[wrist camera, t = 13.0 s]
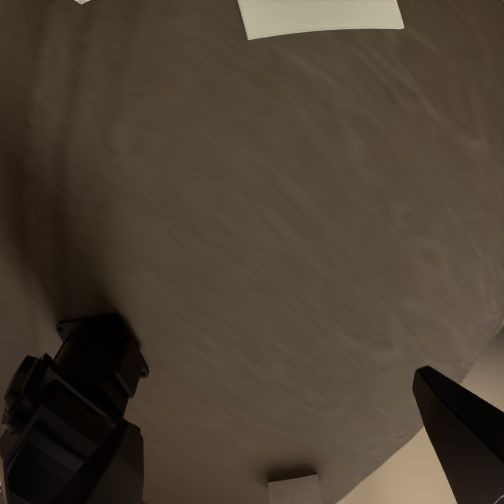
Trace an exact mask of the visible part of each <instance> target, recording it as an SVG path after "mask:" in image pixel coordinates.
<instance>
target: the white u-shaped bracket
mask: <svg viewBox="0 0 504 504" xmlns="http://www.w3.org/2000/svg"><path fill="white" fill-rule="evenodd" d="M75 1H76V2H78V3H80V4H83V3H86V2H88V1H90V0H75Z"/></svg>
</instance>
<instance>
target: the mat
mask: <svg viewBox="0 0 504 504" xmlns="http://www.w3.org/2000/svg"><path fill="white" fill-rule="evenodd" d="M237 1H238V5H239V9H240V12H241V16H242V20H243V24H244V27H245V31H246V35H247V39H248V40H252V39H257V38H263V37H270V36H276V35H284V34H291V33H300V32H310V31H322V30H337V29H403V28H404V24H403V21H402V18H401V14H400V11H399V8H398V4H397V1H396V0H237Z"/></svg>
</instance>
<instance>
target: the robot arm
mask: <svg viewBox="0 0 504 504" xmlns="http://www.w3.org/2000/svg"><path fill="white" fill-rule="evenodd" d="M113 319H115V320H116V321H114V320H113ZM56 330H57V332H58V334H59V335H60V337H61V339H62V340H63V344H62V346H61V347H60V349H59V350H58V352H57V354H56V355H55V357H54V359H53V360H52V358H51V357H50V356H49V355H48V354H47V353H45V354H44V355H43V356H42V357H41V358H37V357H36V358H35V357H32V356H29V355H27V356H26V357H25V358H24V360H23V361H22V363H21V364H20V366H19V367H18V369H17V370H16V372H15V373H14V375H13V377H12V379H11V381H10V384H9V386H8V389H7V391H6V394H5V396H4V399H5V404H6V405H5V410H4V414H3V418H2V425H3V426H4V427H6V430H5V431H4V433H3V435H2V437H1V438H0V479H1V487H2V489H1V492H0V504H142V495H143V483H144V454H143V437H142V435H141V434H140V428H139V427H137V426H136V425H135V424H132V423H130V422H128V421H127V420H125V419H124V418H123V416H124V413H125V410H126V406H127V403H128V400H129V398H133V396H134V394H135V391H136V387H137V384H138V381H139V378H146V377H148V374H149V369H148V368H147V366H146V364H145V362H144V358H143V357H142V355H141V353H140V351H139V349H138V347H137V346H136V344H135V342H134V340H133V338H132V337H131V336H130V334H129V332H128V331H127V329H126V327H125V325H124V323H123V321H122V319H121V317H120V315H118V314H116V313H110V314H104V315H98V316H92V317H87V318H81V319H75V320H68V321H62V322H58V324H57V325H56ZM412 389H413V393H414V396H415V399H416V402H417V405H418V408H419V411H420V414H421V417H422V420H423V423H424V426H425V429H426V432H427V434H428V436H429V439H430V441H431V443H432V445H433V447H434V450H435V452H436V454H437V456H438V458H439V461H440V463H441V465H442V468H443V470H444V472H445V475H446V477H447V479H448V482H449V484H450V487H451V489H452V492H453V494H454V496H455V499H456V501H457V504H504V412H503V411H501V410H499V409H498V408H496V407H494V406H493V405H491V404H490V403H488V402H486V401H485V400H483V399H482V398H480V397H478V396H477V395H475V394H473V393H472V392H470V391H469V390H467V389H465V388H464V387H462V386H461V385H459V384H457V383H456V382H454V381H453V380H451V379H449V378H448V377H446V376H445V375H443V374H441V373H440V372H438V371H437V370H435V369H433V368H432V367H430V366H424V367H421V368H418V369H417V370H416V371H415V375H414V380H413V386H412Z"/></svg>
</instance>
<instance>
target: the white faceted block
mask: <svg viewBox="0 0 504 504" xmlns="http://www.w3.org/2000/svg"><path fill="white" fill-rule="evenodd" d="M268 487H269V498H270V504H323V499H322V494H321V489H320V484H319V478H318V474H316V475H311V476H306V477H300V478H295V479H289V480H283V481H276V482H269V483H268Z"/></svg>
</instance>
